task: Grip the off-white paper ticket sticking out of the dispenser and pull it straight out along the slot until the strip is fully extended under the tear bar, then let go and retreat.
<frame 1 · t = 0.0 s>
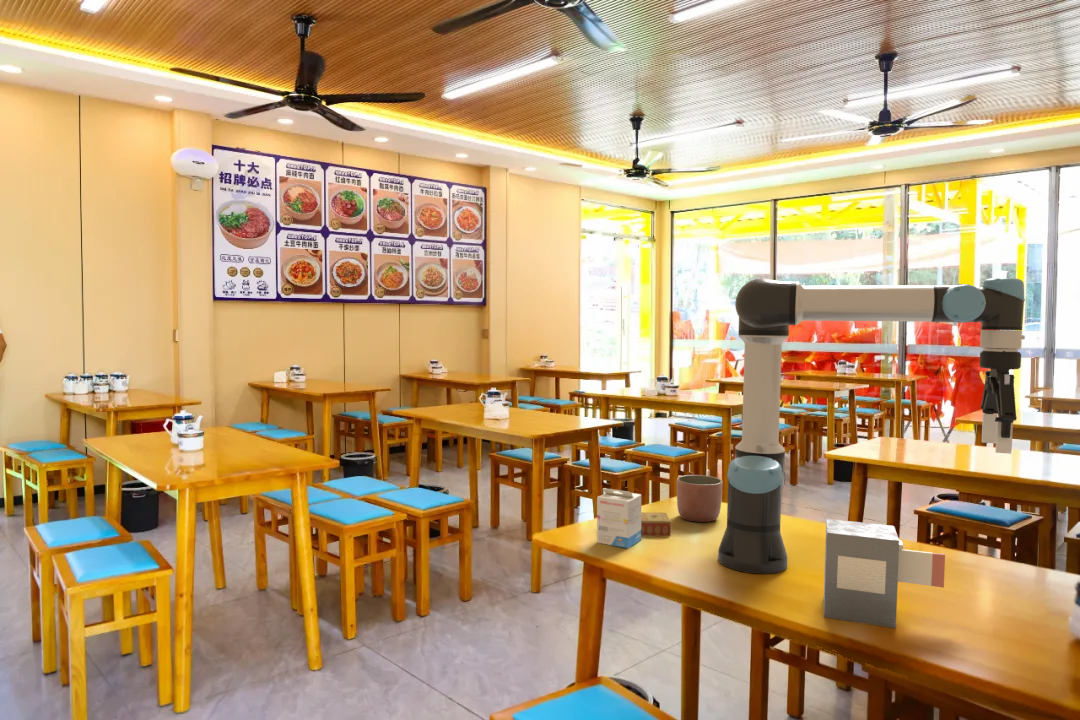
hand: (995, 447, 155), 28 cm above the table, fingers open, 13 cm apart
carton: (637, 532, 186), on the table
ink box: (619, 542, 176), on the table
dispenser: (857, 612, 135), on the table
planter: (698, 519, 198), on the table
ticket: (889, 564, 132), point 10 cm above the table, slide at 0.0 cm
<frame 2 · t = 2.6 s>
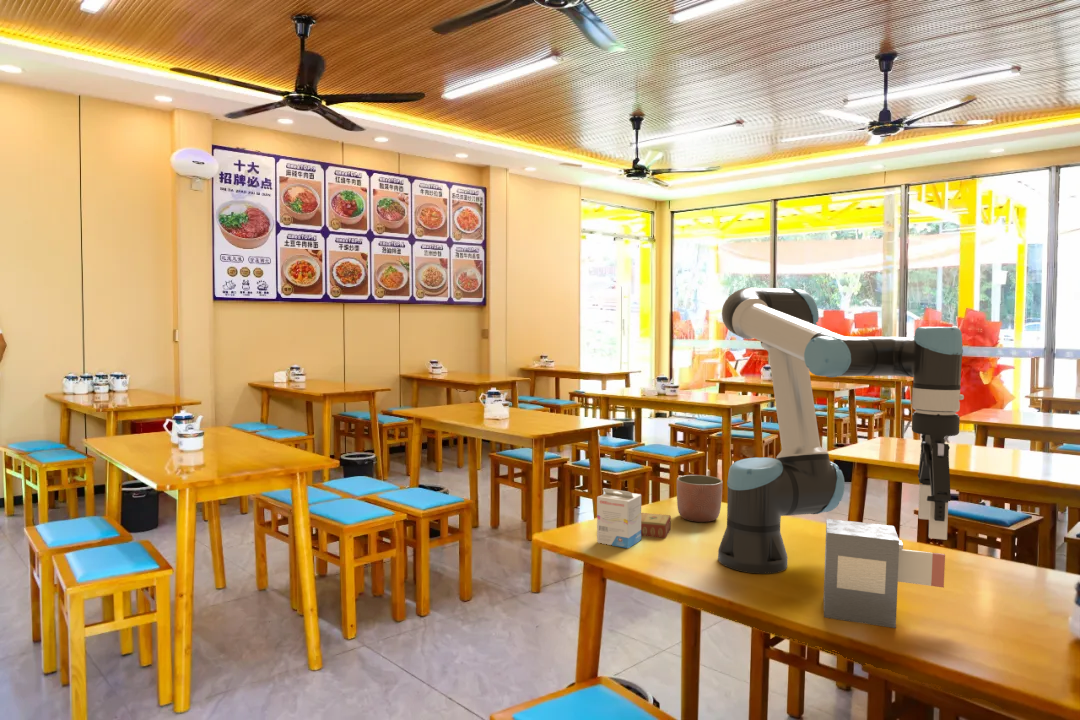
hand: (931, 528, 129), 18 cm above the table, fingers open, 13 cm apart
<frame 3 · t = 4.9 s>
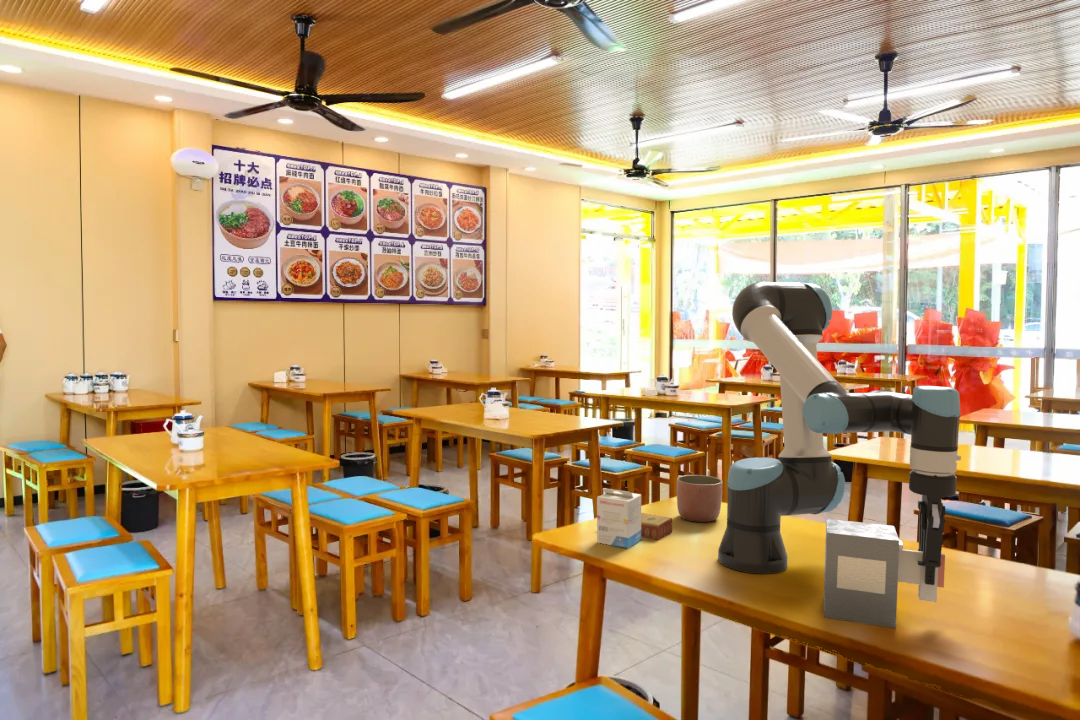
hand: (927, 598, 130), 4 cm above the table, fingers closed, pressing on ticket
ticket: (889, 564, 132), point 10 cm above the table, slide at 0.0 cm, touching gripper
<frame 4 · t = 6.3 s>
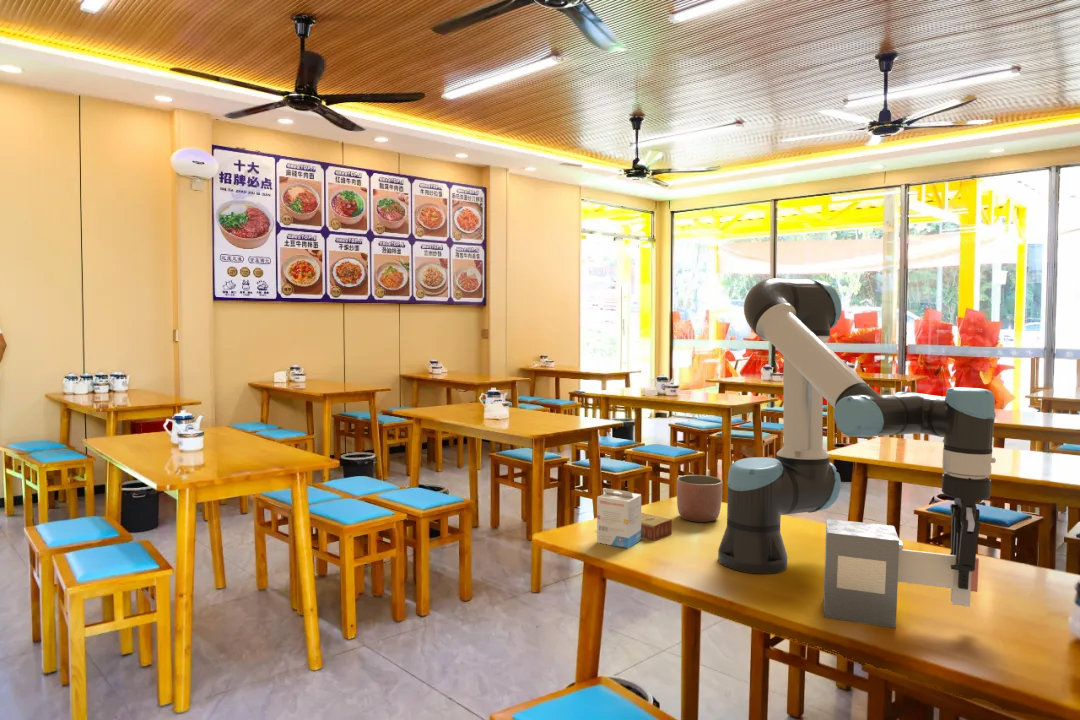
hand: (960, 603, 129), 4 cm above the table, fingers closed, pressing on ticket
ticket: (921, 567, 131), point 10 cm above the table, slide at 5.3 cm, touching gripper
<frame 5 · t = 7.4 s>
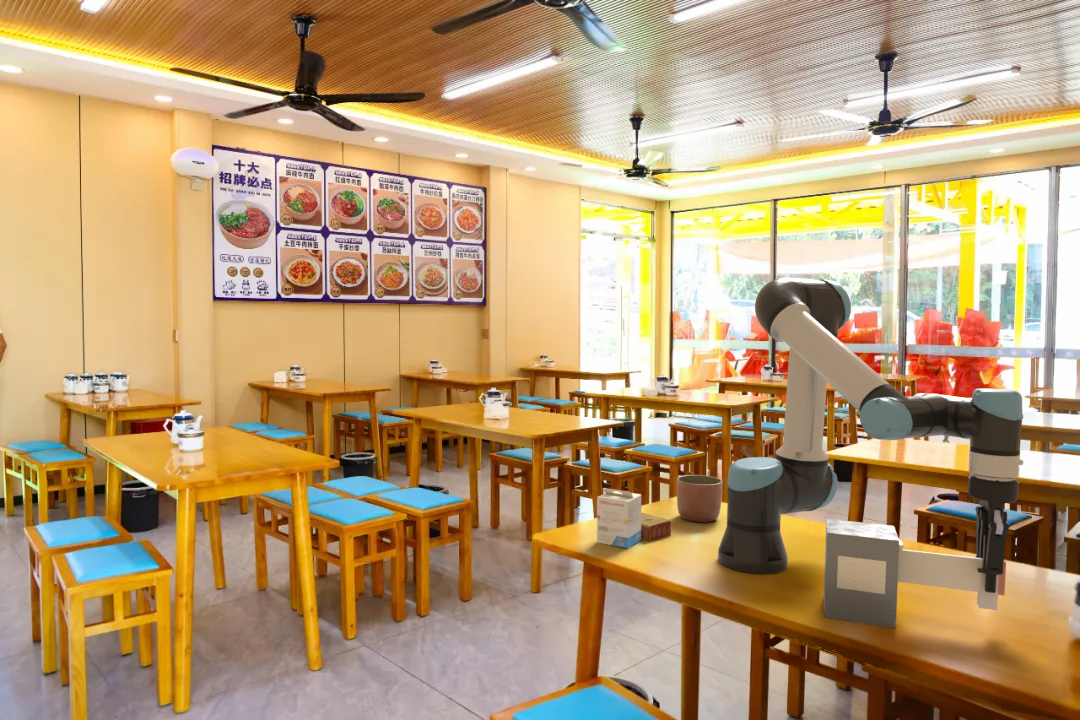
hand: (986, 606, 127), 4 cm above the table, fingers closed, pressing on ticket
ticket: (946, 571, 129), point 10 cm above the table, slide at 9.4 cm, touching gripper
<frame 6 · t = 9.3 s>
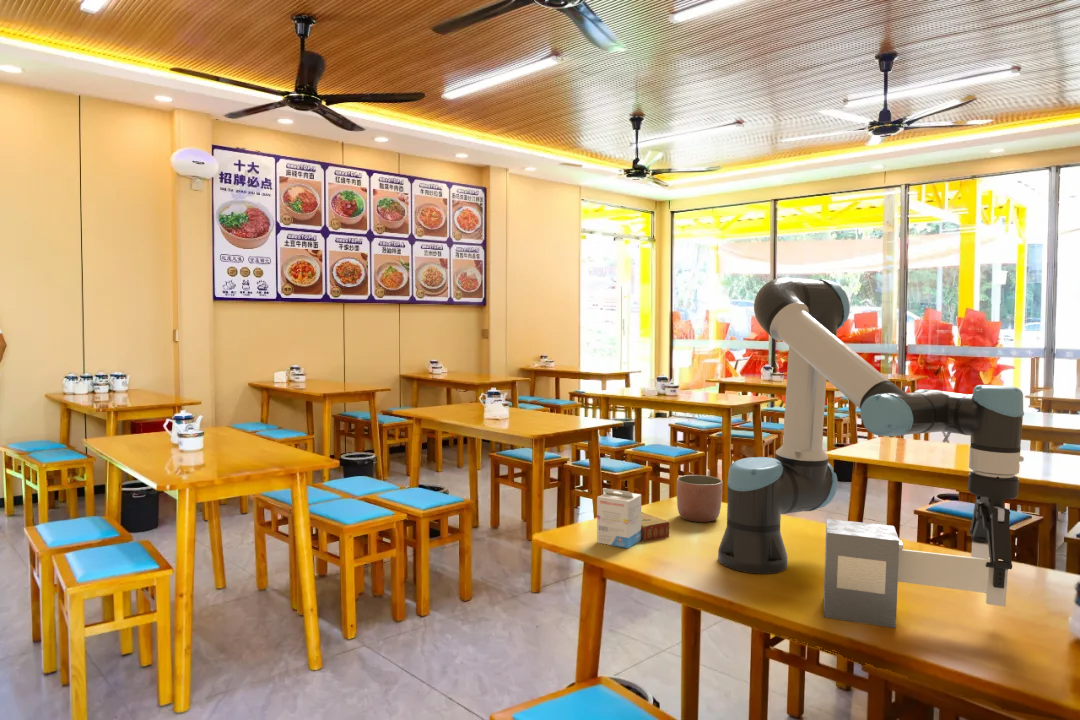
hand: (986, 590, 127), 7 cm above the table, fingers open, 13 cm apart
ticket: (947, 571, 129), point 10 cm above the table, slide at 9.5 cm
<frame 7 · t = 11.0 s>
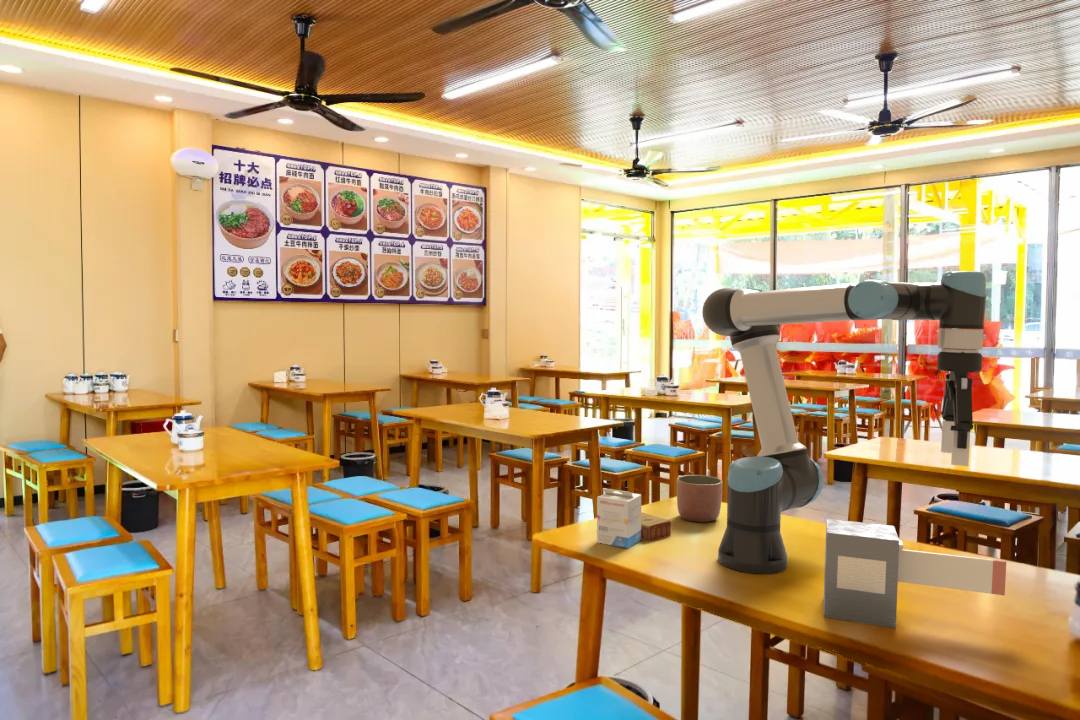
hand: (953, 458, 140), 28 cm above the table, fingers open, 13 cm apart
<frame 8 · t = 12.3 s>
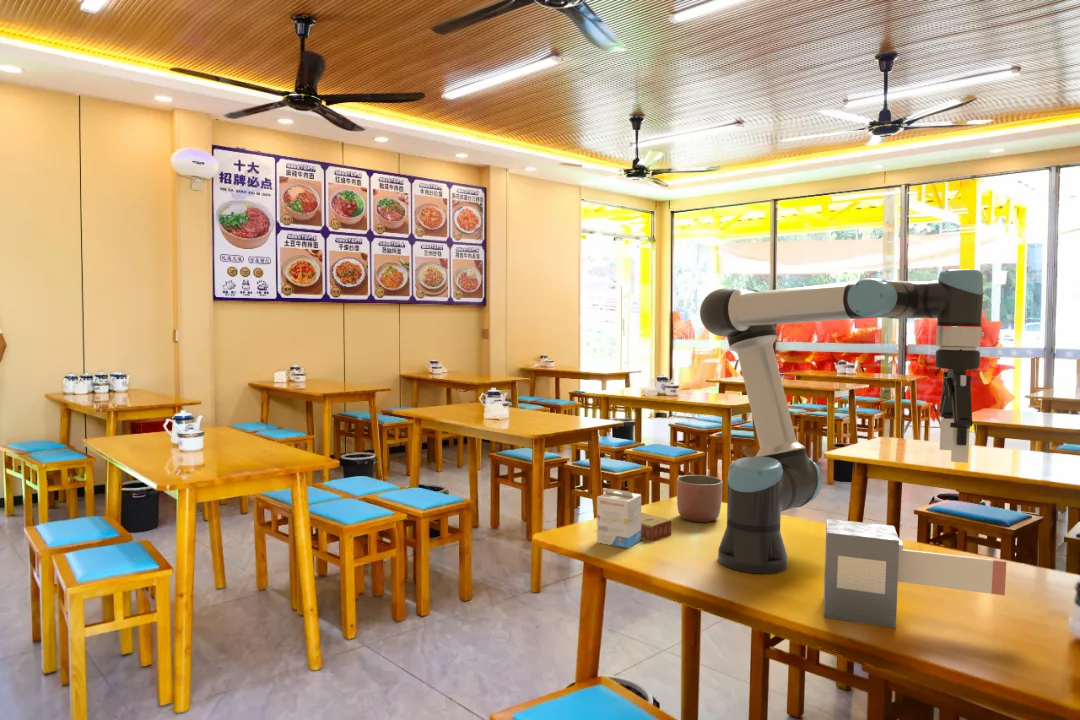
hand: (953, 455, 141), 29 cm above the table, fingers open, 13 cm apart
at the end: ticket slide at 9.5 cm; the gripper is holding nothing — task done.
